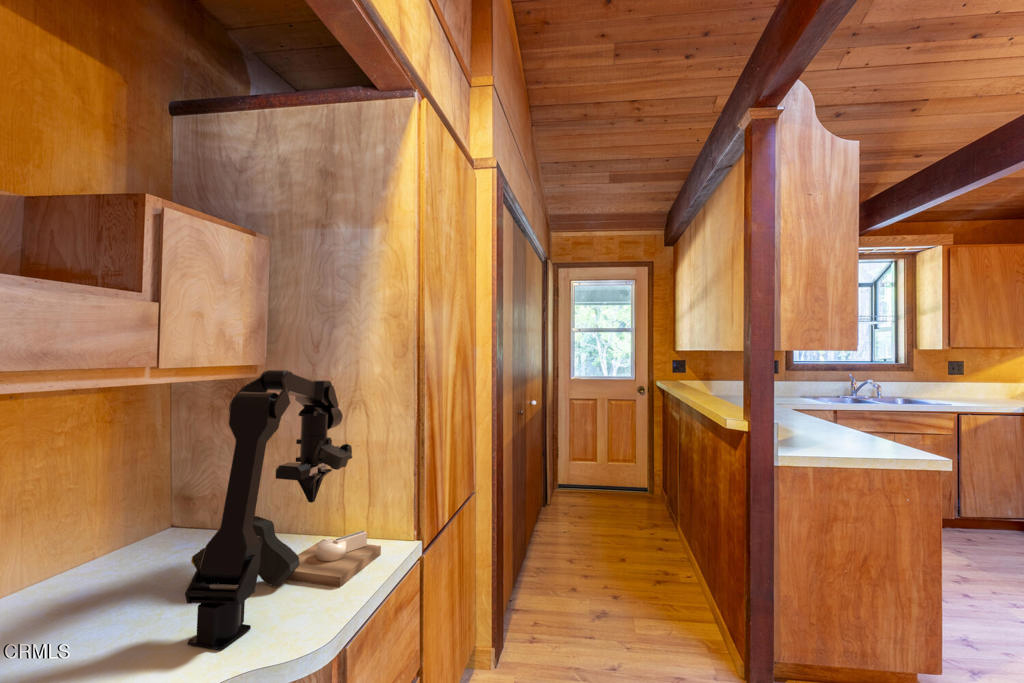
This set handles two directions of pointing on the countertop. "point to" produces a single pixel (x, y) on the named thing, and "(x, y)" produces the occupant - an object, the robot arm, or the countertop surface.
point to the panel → (333, 566)
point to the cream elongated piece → (340, 546)
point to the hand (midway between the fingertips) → (311, 502)
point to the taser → (268, 555)
